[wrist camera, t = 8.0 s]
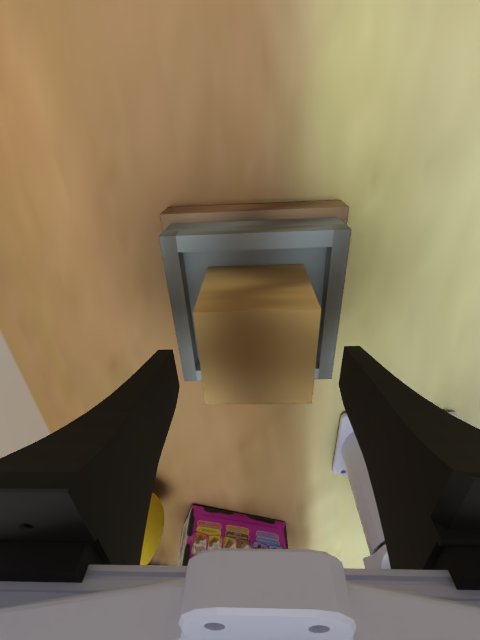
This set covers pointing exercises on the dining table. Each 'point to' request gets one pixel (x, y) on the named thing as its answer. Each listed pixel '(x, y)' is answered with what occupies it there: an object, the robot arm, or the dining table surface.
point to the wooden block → (257, 334)
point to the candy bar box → (228, 532)
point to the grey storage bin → (255, 259)
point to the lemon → (152, 530)
